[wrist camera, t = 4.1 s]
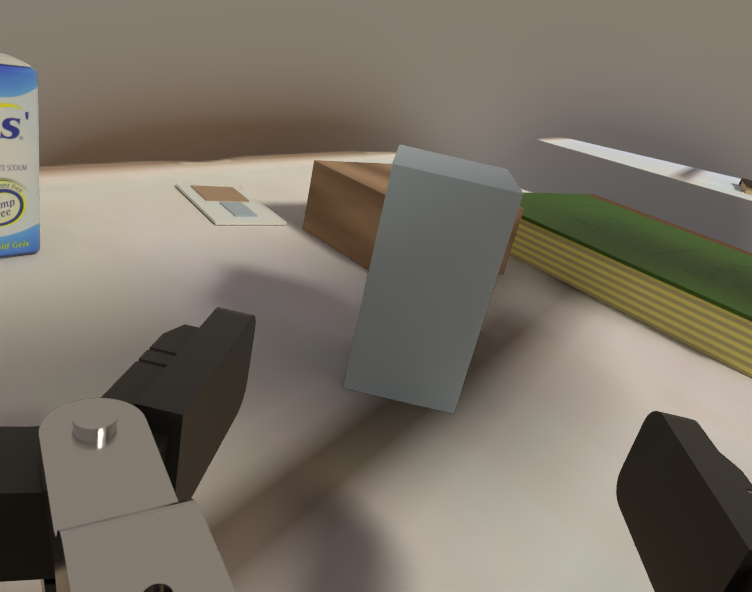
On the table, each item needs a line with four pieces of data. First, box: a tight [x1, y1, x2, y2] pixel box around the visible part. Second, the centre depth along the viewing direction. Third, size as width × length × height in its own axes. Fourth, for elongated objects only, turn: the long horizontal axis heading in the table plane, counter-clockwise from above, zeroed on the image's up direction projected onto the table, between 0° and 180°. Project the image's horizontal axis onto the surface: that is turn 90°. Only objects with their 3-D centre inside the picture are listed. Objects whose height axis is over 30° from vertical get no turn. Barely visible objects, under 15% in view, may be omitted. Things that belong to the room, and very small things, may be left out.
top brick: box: [343, 145, 523, 414], centre depth 23 cm, size 4×4×9 cm
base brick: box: [303, 160, 524, 275], centre depth 39 cm, size 10×10×5 cm
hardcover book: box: [510, 193, 752, 378], centre depth 46 cm, size 25×19×4 cm
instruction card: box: [176, 184, 287, 225], centre depth 41 cm, size 5×8×1 cm, turn 35°
